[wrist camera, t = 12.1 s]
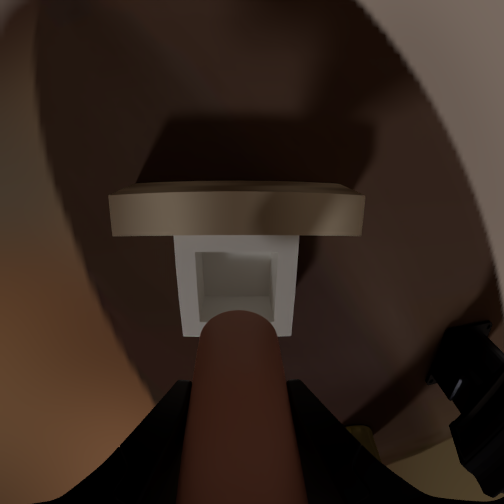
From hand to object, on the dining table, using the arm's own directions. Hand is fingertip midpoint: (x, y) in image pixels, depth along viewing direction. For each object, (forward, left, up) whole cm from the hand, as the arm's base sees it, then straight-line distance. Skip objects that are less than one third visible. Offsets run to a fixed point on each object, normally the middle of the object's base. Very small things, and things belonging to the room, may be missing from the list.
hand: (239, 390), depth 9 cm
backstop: (0, -4, -10) cm, 11 cm away
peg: (0, 0, -3) cm, 2 cm away
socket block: (0, 0, -10) cm, 10 cm away
